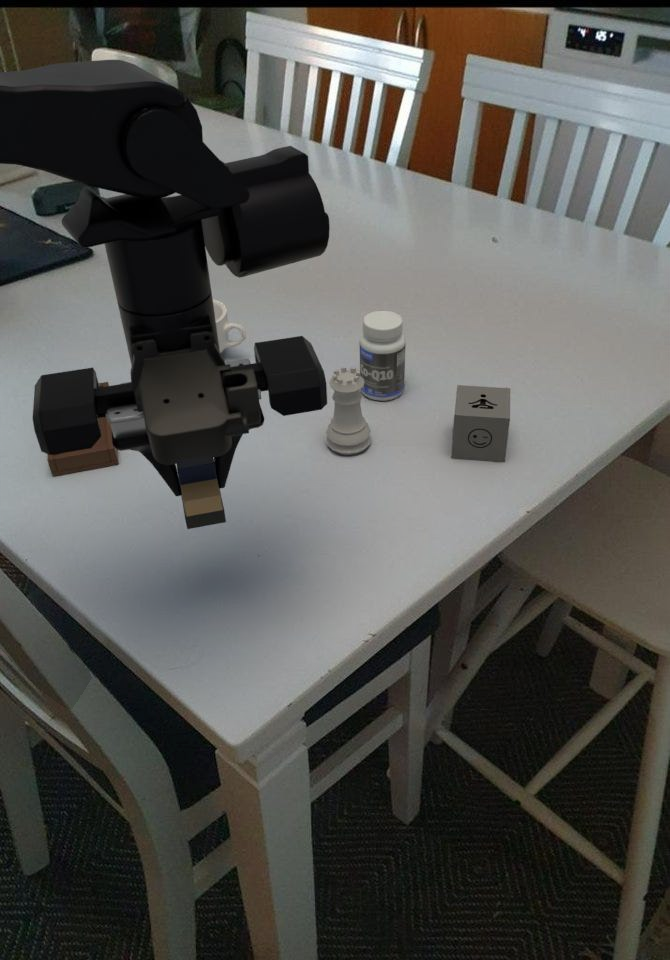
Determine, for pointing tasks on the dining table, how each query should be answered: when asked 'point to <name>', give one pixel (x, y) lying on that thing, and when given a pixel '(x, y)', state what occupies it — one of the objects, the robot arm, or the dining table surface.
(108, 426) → the tray
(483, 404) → the dice cube
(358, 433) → the rook chess piece
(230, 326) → the teacup
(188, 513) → the stacked boxes
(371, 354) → the pill bottle
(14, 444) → the dining table surface
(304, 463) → the dining table surface
